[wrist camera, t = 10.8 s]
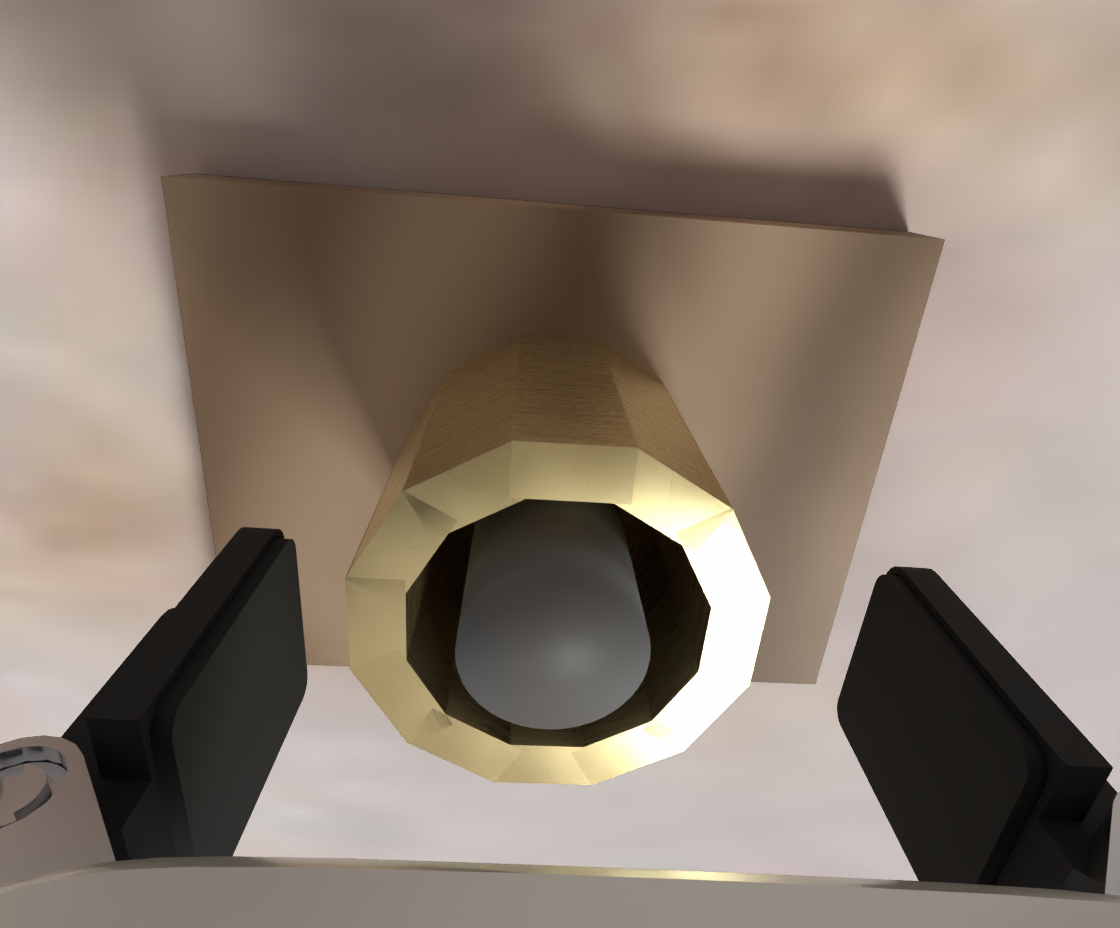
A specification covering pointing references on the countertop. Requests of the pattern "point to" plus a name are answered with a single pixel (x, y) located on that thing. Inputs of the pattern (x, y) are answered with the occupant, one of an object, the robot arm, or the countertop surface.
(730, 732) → the countertop surface
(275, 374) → the post stand
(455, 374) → the wooden cup
